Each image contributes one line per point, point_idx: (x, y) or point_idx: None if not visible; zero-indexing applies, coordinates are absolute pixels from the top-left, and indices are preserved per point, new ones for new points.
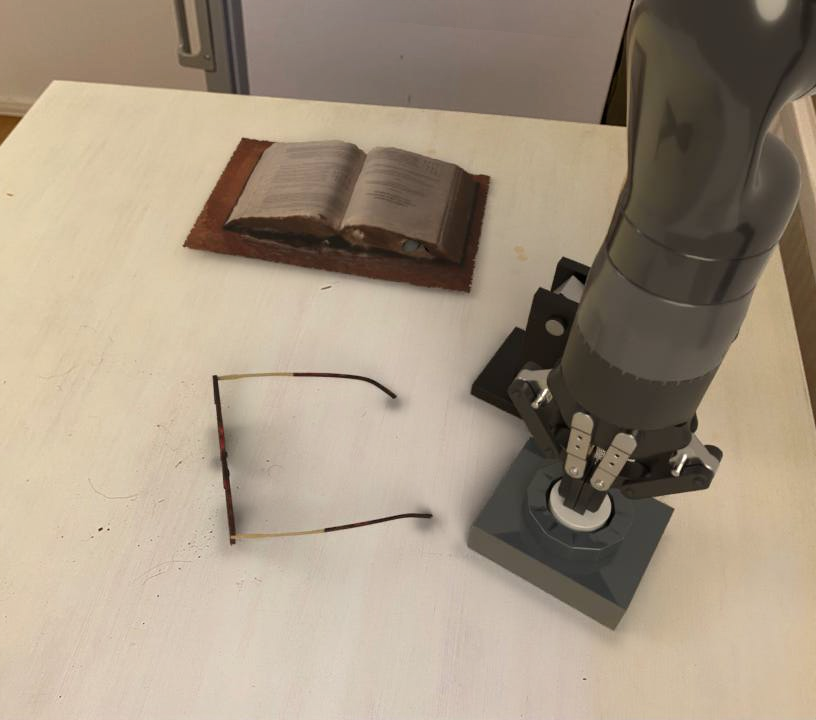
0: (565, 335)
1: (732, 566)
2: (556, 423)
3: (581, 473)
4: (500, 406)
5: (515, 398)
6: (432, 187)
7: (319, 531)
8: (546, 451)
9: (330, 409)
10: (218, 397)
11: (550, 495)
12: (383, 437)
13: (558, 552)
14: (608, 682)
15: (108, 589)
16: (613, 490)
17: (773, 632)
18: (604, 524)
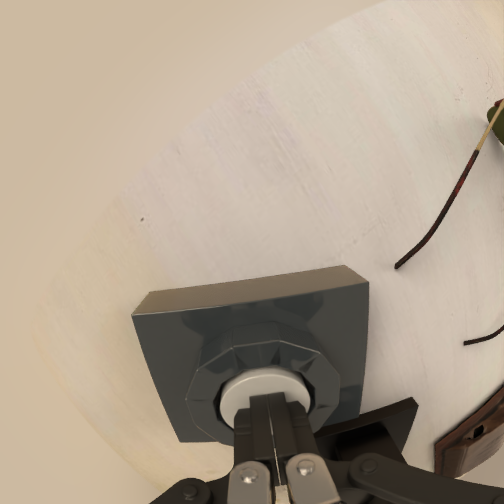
0: None
1: (123, 410)
2: (376, 496)
3: (290, 473)
4: (385, 409)
5: (496, 498)
6: (472, 461)
7: (479, 145)
8: (375, 466)
9: (496, 289)
10: None
11: (306, 390)
12: (460, 304)
13: (247, 329)
14: (122, 235)
15: (490, 52)
16: None
17: (69, 374)
18: (220, 399)
